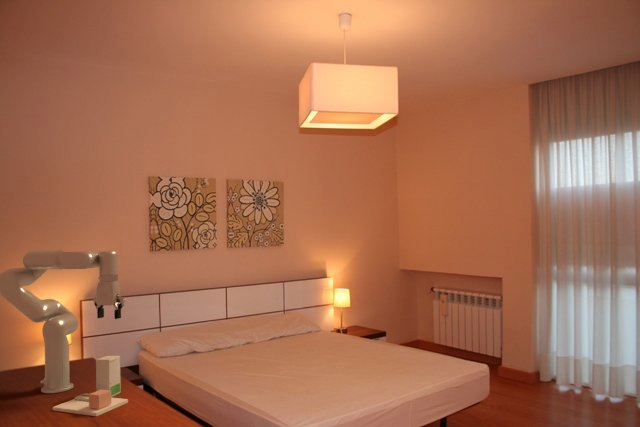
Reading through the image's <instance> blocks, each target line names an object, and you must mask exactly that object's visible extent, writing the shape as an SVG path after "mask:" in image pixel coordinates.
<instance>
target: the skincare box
mask: <svg viewBox="0 0 640 427" xmlns="http://www.w3.org/2000/svg"><path fill="white" fill-rule="evenodd" d="M95 374H96V377H95V381H96V383H95V384H96V386H95V387H96V389H95V390H96V391H99V390H110V391H111V397H112V398H114V397H115V396H117V395H118V394H119V395H120V393H121V392H122V391H121V390H122V389H121V388H122V387H121V355H105V356H102V357H99V358H96V359H95ZM96 391H95V392H96Z"/></svg>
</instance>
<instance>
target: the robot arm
mask: <svg viewBox="0 0 640 427" xmlns="http://www.w3.org/2000/svg"><path fill="white" fill-rule="evenodd" d="M118 261H119V260H118V252H117V251H116V250H104V251H103V250H102V251H100V250H86V251H85V250H84V251H63V250H62V249H52V250H51V249H50V250H49V249H47V250H46V249H38V250H37V249H36V250H29V251H27V253H25V254H24V255H23V257H22V264H23V267H16V268H15V267H14V268H9V269H6V270H4V271H2V272H1V273H0V296H1V297H2V298H3V299H4V300H6V301H7V302H8V303H10V304H11V305H12V306H13V307H14V308H16V309H17V311H19V312H20V313H21V314H23V315H24V316H25V317H27V318H28V319H29V320H30V321H31V322H33V323H37V324H38V323H43V322H44V323H43V324H42V329H41V333H42V338H43V343H44V344H43V345H44V378H43V379H42V380H40V384H42V385H43V387H41V389H40V392H41V393H43V394H56V393H57V394H58V393H62V392H66V391H69V390H71V389H73V388H74V383H72V382H70V343H69V341H68V337H67V336H69V335H70V334H74V333H75V332H76V331H77V330H78V328H79V325H80V324H79V319H78V317H77V316H76V315H75V314H74V313H73V312H72V311H71V310H69V309H68V308H67V307H66V306H64V305H63V304H62V303H61V302H59V300H56V299H53V298H46V299H40V298H39V297H37V296H36V295H34V293H33V292H31V291H30V290H27V289H26V288H24V287H26V286H30V285H32V284H34V283H35V282H36V281H38V280H39V278H40V277H41V276H43V275H44V274H45V272H47V271H48V270H86V269H94V268H95V269H96V268H98V272H99V276H98V280H99V281H98V282H97V286H96V296H95V297H94V298H92V301H93V303H94V306H95V309H96V311H97V312H96V313H97V314H96V315H97V319H102V318H105V309H104V306H106V307H107V306H109V307H110V306H113V307H114V314H113V315H114V319H115V320H118V319H122V309H123V307H124V305H125V302H126V298H124V297H123V296H122V295H121V287H120V282H119V273H118V272H119V269H118V268H119V267H118V266H119V265H118Z"/></svg>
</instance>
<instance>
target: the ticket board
mask: <svg viewBox="0 0 640 427" xmlns="http://www.w3.org/2000/svg"><path fill="white" fill-rule="evenodd" d="M89 394H90V393H87V392H85V393H83V394H82V393H81V394H79V395H78V396H74V398H73V399H70V400H68V401H66V402H65V401H64V402H63V403H60V404H58V405H55V406H53V407H52V411H55V412H63V413H69V414H70V413H71V414H77V415H85V416H93V417H98V416H100V415H103V414H105V413H107V412H110V411H111V410H114V409H116V408H119V407H120V406H123V405H125V404H128V403H129V399H128V398H121V397H119V398H118V397H111V404H110V405H107V406H105V407H103V408H100V409H96V408H89Z"/></svg>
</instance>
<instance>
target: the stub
mask: <svg viewBox="0 0 640 427" xmlns="http://www.w3.org/2000/svg"><path fill="white" fill-rule="evenodd" d="M88 394H89V408H96V409H100V408H103V407H105V406H107V405H110V404H111V391H110V390H99V391H94V392H91V393H88Z"/></svg>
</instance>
